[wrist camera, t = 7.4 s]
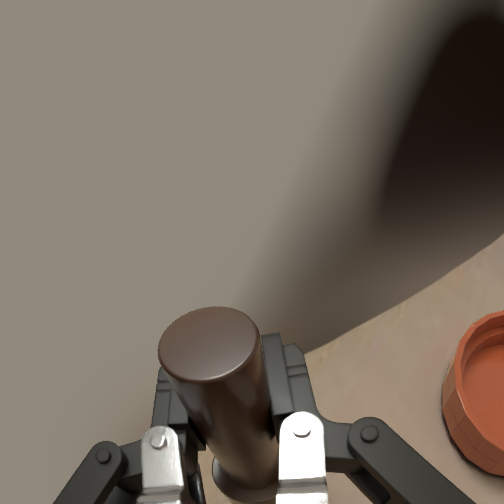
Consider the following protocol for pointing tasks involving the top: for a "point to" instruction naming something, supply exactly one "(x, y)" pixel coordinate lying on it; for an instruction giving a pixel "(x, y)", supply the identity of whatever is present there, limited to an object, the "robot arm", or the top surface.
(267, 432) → the muddler
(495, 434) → the bowl
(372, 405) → the top surface
